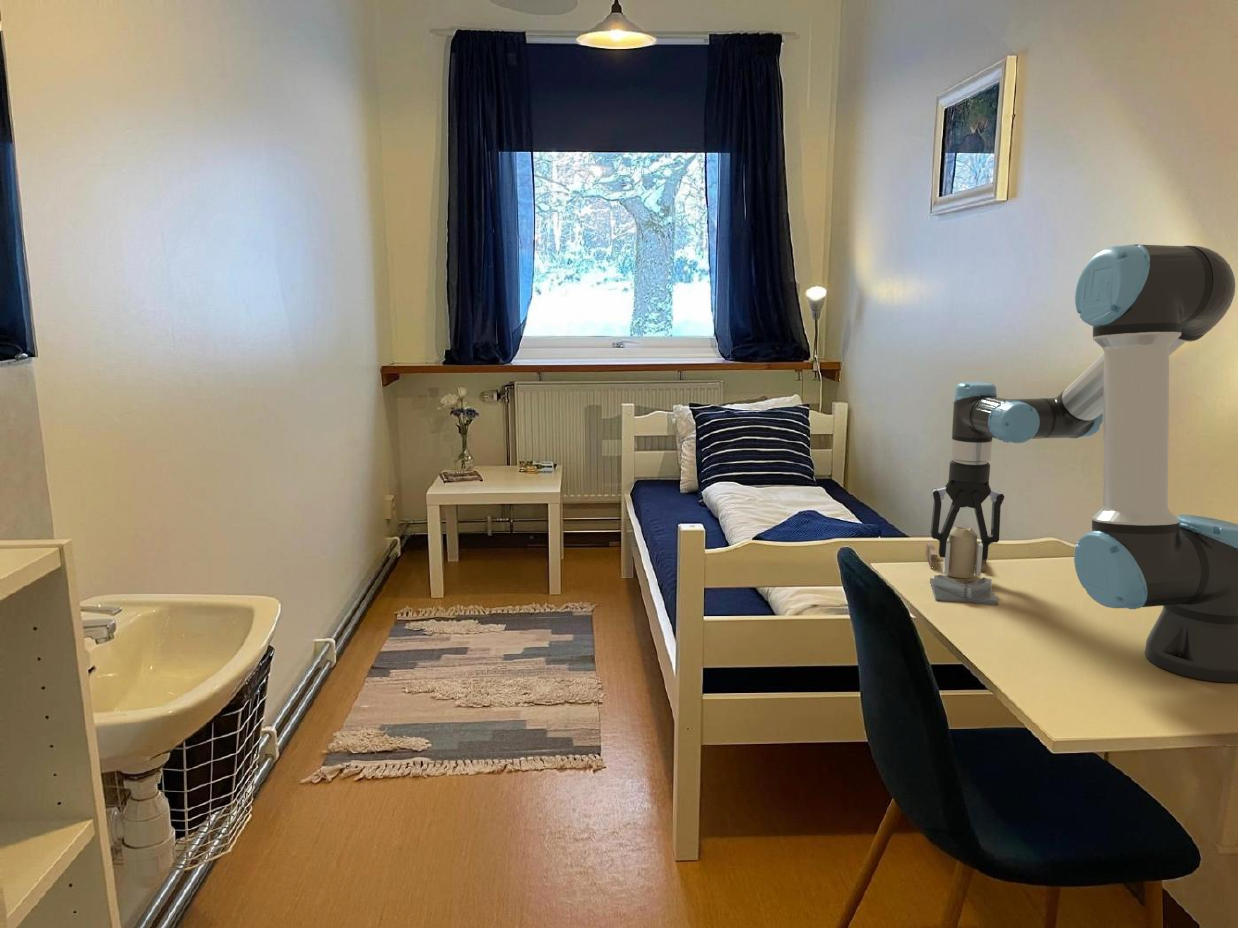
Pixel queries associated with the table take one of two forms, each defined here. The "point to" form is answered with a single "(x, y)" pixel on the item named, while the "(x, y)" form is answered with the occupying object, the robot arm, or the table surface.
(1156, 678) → the table surface
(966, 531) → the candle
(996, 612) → the table surface
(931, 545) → the channel
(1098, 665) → the table surface
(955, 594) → the v block
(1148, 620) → the table surface
